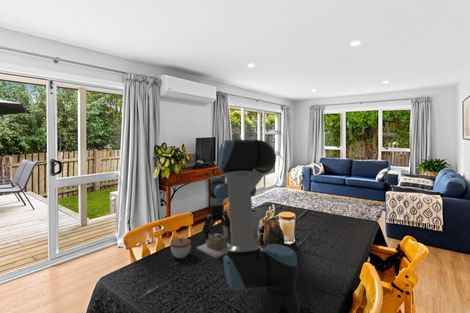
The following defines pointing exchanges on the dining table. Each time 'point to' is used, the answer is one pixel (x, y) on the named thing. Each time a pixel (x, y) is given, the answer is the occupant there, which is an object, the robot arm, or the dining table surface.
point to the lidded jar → (180, 247)
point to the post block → (213, 252)
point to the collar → (217, 242)
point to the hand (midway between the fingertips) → (216, 241)
